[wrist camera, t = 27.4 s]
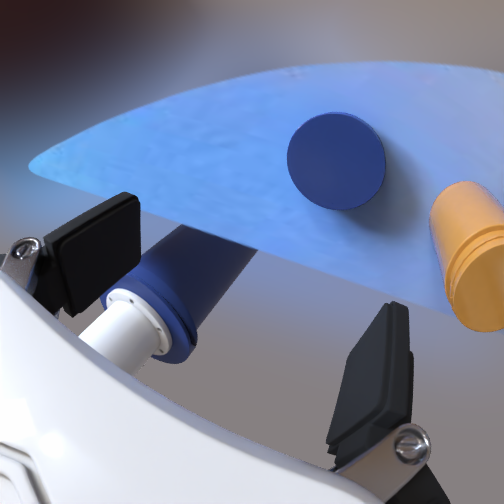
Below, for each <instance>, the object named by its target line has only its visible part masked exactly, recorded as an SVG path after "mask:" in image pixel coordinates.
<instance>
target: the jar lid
mask: <svg viewBox="0 0 504 504" xmlns="http://www.w3.org/2000/svg"><path fill="white" fill-rule="evenodd" d="M287 165H288V170H289V173H290V176H291V178H292V180H293V182H294V184H295V186H296V187H297V189H298V190H299V191H300V192H301V193H302V194H303V195H304V196H305V197H306V198H307V199H309V200H310V201H311V202H313V203H315V204H317V205H319V206H321V207H324V208H327V209H332V210H348V209H353V208H356V207H358V206H361V205H363V204H364V203H366V202H367V201H369V200H370V199H371V198H372V197H373V196H374V195H375V194H376V193H377V191H378V190H379V188H380V186H381V184H382V182H383V179H384V176H385V169H386V162H385V154H384V149H383V146H382V143H381V141H380V139H379V137H378V135H377V134H376V132H375V131H374V130H373V129H372V128H371V127H370V126H369V125H368V124H367V123H366V122H364V121H363V120H361V119H360V118H358V117H356V116H353V115H351V114H347V113H342V112H329V113H324V114H321V115H318V116H315V117H313V118H311V119H309V120H307V121H306V122H304V123H303V124H302V125H301V126H300V127H299V128H298V129H297V130H296V131H295V133H294V135H293V136H292V138H291V140H290V143H289V146H288V151H287Z"/></svg>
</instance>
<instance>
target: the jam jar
mask: <svg viewBox="0 0 504 504" xmlns="http://www.w3.org/2000/svg"><path fill="white" fill-rule="evenodd" d="M429 227H430V232H431V236H432V239H433V243H434V246H435V250H436V254H437V258H438V262H439V266H440V270H441V274H442V279H443V283H444V288H445V293H446V296H447V299H448V301H449V303H450V304H451V306H452V310H453V311H454V313H455V315H456V317H457V318H458V319H459V321H460V322H461V323H462V324H463V325H464V326H466V327H467V328H469V329H471V330H474V331H478V332H493V331H497V330H501V329H503V328H504V207H503V206H502V204H501V203H500V202H499V201H498V200H497V199H496V198H495V197H494V196H493V195H492V194H491V193H490V191H488V190H487V189H486V188H485V187H484V186H482V185H480V184H478V183H475V182H471V181H462V182H457V183H454V184H452V185H450V186H448V187H447V188H445V189H444V190H443V191H442V192H441V193H440V194H439V195H438V197H437V198H436V200H435V201H434V203H433V206H432V208H431V212H430V217H429Z"/></svg>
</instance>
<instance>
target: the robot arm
mask: <svg viewBox="0 0 504 504" xmlns="http://www.w3.org/2000/svg"><path fill="white" fill-rule="evenodd" d="M43 238H44V243H45V246H43V247H42V246H41V242H40V241H39V240H38V239H37V238H32V237H28V238H23V239H20V240H18V241H17V242H15V243H14V244H13V245H12V246H11V247H10V249H9V250H8V252H7V254H0V504H450V501H449V499H448V497H447V496H446V494H445V492H444V491H443V489H442V488H441V486H440V484H439V483H438V481H437V479H436V478H435V476H434V475H433V473H432V472H431V470H430V468H429V467H428V466H427V464H426V462H427V461H428V459H429V457H430V454H431V442H430V438H429V436H428V435H427V433H426V431H424V430H423V429H422V428H421V427H420V426H418V425H416V424H411V415H412V402H413V376H414V357H413V353H412V352H411V351H410V346H409V345H410V338H409V311H408V308H407V307H406V306H404V305H402V304H399V303H397V302H395V301H392V302H391V303H390V304H388V303H385V304H384V305H383V307H382V308H381V310H380V311H379V313H378V314H377V316H376V317H375V318H374V320H373V322H372V323H371V324H370V326H369V327H368V329H367V330H366V331H365V333H364V334H363V336H362V337H361V338H360V340H359V341H358V343H357V344H356V345H355V347H354V348H353V349H352V351H351V352H350V354H349V356H348V358H347V361H346V366H345V370H344V375H343V379H342V383H341V387H340V392H339V396H338V399H337V404H336V407H335V411H334V414H333V418H332V422H331V425H330V429H329V432H328V435H327V439H326V444H328V445H329V449H328V452H327V453H329V454H332V455H336V458H335V464H336V465H335V466H333V467H332V468H330V469H329V470H326V469H324V468H321V467H318V466H315V465H312V464H310V463H307V462H305V461H302V460H299V459H296V458H294V457H291V456H288V455H286V454H283V453H280V452H278V451H275V450H273V449H270V448H268V447H265V446H263V445H261V444H258V443H256V442H254V441H251V440H249V439H247V438H245V437H242V436H240V435H238V434H236V433H233V432H231V431H229V430H227V429H225V428H223V427H221V426H218V425H216V424H214V423H212V422H210V421H208V420H206V419H204V418H203V417H200V416H199V415H197V414H195V413H193V412H191V411H189V410H187V409H185V408H184V407H182V406H180V405H178V404H177V403H175V402H173V401H171V400H170V399H168V398H166V397H165V396H163V395H161V394H160V393H158V392H156V391H155V390H153V389H151V388H150V387H148V386H147V385H145V384H143V383H142V382H140V381H139V380H137V379H135V378H134V376H135V374H136V373H137V372H138V371H139V370H140V369H141V367H143V366H144V364H145V363H146V361H147V360H148V359H149V358H150V357H151V355H152V354H154V355H165V354H166V353H167V352H168V351H169V350H170V349H171V347H172V337H171V334H170V331H169V329H168V327H167V325H166V324H165V322H164V321H163V319H162V318H161V317H160V315H159V314H158V313H157V312H156V311H155V310H154V309H153V308H152V307H151V306H150V305H149V304H148V303H147V302H146V301H145V300H143V299H142V298H141V297H139V296H138V295H136V294H135V293H133V292H131V291H128V290H125V289H119V288H117V289H114V290H113V291H112V292H110V293H109V294H108V296H107V299H106V302H107V308H108V309H107V310H106V311H105V312H104V313H103V314H102V315H101V316H99V317H98V318H97V319H96V320H95V321H94V322H93V323H92V324H91V325H90V326H89V327H88V328H87V329H86V330H85V331H84V332H83V333H82V334H81V335H80V336H77V335H75V334H74V333H73V332H72V331H70V330H69V329H68V328H67V327H66V326H64V325H63V324H62V323H61V322H60V321H59V320H58V317H59V311H60V308H62V307H63V308H64V311H65V312H66V313H67V314H69V315H70V316H71V317H72V318H73V317H74V316H76V315H77V314H78V313H82V312H83V311H84V310H85V309H87V308H88V307H89V306H90V305H91V304H92V303H93V302H94V301H96V300H97V299H98V298H99V297H100V296H101V295H103V294H104V293H105V292H106V291H107V290H108V289H110V288H111V287H112V286H113V285H114V284H115V283H117V282H118V281H119V280H120V279H121V278H123V277H124V276H125V275H126V274H127V273H129V272H130V271H131V270H132V269H133V268H135V267H136V266H137V265H138V264H139V262H140V260H141V233H140V202H139V200H138V197H137V196H135V195H133V194H130V193H128V192H122V193H120V194H118V195H116V196H114V197H112V198H110V199H108V200H106V201H104V202H103V203H101V204H99V205H97V206H95V207H93V208H92V209H90V210H88V211H86V212H84V213H83V214H81V215H79V216H78V217H76V218H74V219H72V220H71V221H69V222H67V223H66V224H64V225H62V226H61V227H59V228H58V229H56V230H54V231H52V232H51V233H49V234H48V235H46V236H44V237H43Z"/></svg>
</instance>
